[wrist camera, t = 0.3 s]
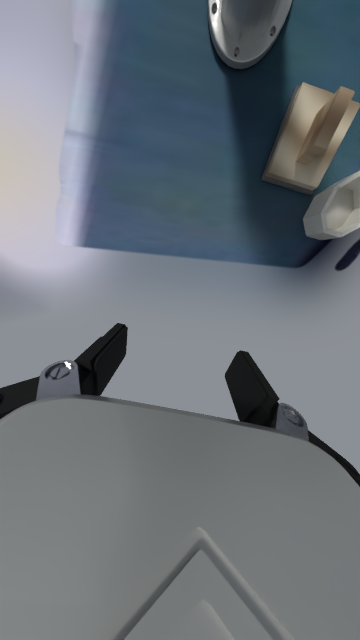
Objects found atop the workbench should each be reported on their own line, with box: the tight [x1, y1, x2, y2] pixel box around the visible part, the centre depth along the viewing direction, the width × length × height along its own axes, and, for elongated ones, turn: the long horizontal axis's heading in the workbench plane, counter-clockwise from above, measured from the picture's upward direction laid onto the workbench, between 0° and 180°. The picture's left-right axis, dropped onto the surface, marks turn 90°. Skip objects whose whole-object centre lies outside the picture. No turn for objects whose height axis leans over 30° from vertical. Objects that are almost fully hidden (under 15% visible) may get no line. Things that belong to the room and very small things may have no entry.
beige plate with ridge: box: [266, 82, 360, 190], centre depth 23 cm, size 11×11×5 cm
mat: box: [261, 85, 315, 195], centre depth 25 cm, size 12×12×1 cm
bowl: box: [303, 171, 360, 240], centre depth 28 cm, size 10×10×4 cm
